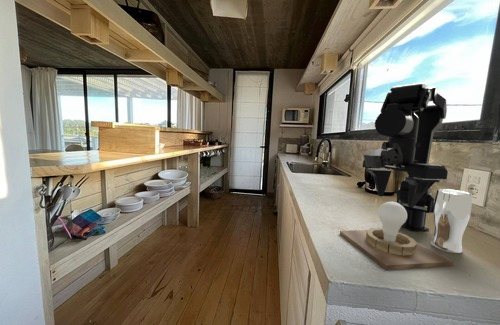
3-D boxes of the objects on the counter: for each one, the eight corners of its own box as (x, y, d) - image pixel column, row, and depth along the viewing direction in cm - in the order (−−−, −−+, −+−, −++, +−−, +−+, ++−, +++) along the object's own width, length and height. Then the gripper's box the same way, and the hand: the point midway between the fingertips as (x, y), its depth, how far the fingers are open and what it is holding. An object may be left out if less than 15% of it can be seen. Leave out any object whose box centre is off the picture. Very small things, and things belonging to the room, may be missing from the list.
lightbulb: (408, 251, 51) (413, 207, 50) (380, 247, 52) (384, 204, 51) (396, 240, 57) (401, 200, 56) (371, 237, 58) (375, 197, 57)
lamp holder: (391, 232, 64) (392, 222, 64) (452, 265, 48) (454, 253, 47) (339, 234, 62) (340, 224, 61) (385, 269, 45) (386, 256, 45)
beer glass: (468, 257, 51) (478, 197, 50) (431, 249, 55) (439, 192, 53) (459, 246, 57) (468, 191, 56) (426, 238, 61) (433, 187, 59)
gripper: (348, 137, 59) (343, 191, 61) (406, 136, 41) (397, 214, 43) (383, 138, 61) (377, 191, 63) (454, 139, 43) (443, 214, 44)
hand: (394, 201), depth 53 cm, fingers open, 9 cm apart
